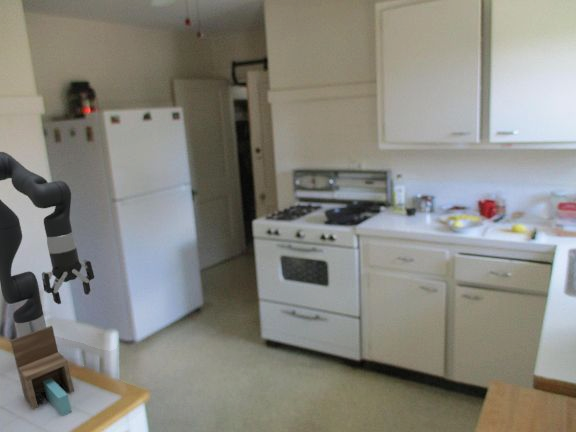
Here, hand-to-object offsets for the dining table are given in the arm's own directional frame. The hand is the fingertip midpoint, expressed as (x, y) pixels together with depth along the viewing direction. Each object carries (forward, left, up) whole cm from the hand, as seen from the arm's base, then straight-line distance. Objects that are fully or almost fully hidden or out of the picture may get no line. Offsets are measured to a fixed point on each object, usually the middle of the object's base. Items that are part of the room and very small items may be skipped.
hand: (73, 298), depth 150 cm
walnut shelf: (-6, -11, -30) cm, 33 cm away
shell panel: (+2, -11, -30) cm, 32 cm away
